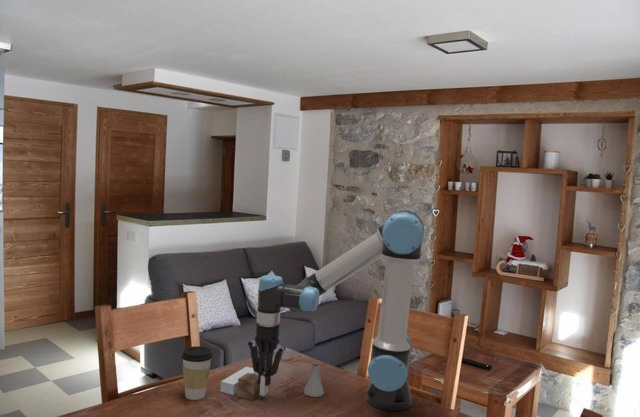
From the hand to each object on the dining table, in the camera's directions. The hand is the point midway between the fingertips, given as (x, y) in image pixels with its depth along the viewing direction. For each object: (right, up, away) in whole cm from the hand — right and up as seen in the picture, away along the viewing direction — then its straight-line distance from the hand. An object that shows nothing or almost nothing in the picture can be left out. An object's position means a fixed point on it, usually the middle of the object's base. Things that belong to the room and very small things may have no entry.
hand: (263, 394), depth 176 cm
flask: (+16, -2, +7) cm, 18 cm away
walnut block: (-5, -1, +2) cm, 5 cm away
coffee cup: (-22, 0, -1) cm, 22 cm away
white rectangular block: (-9, 0, +10) cm, 13 cm away
